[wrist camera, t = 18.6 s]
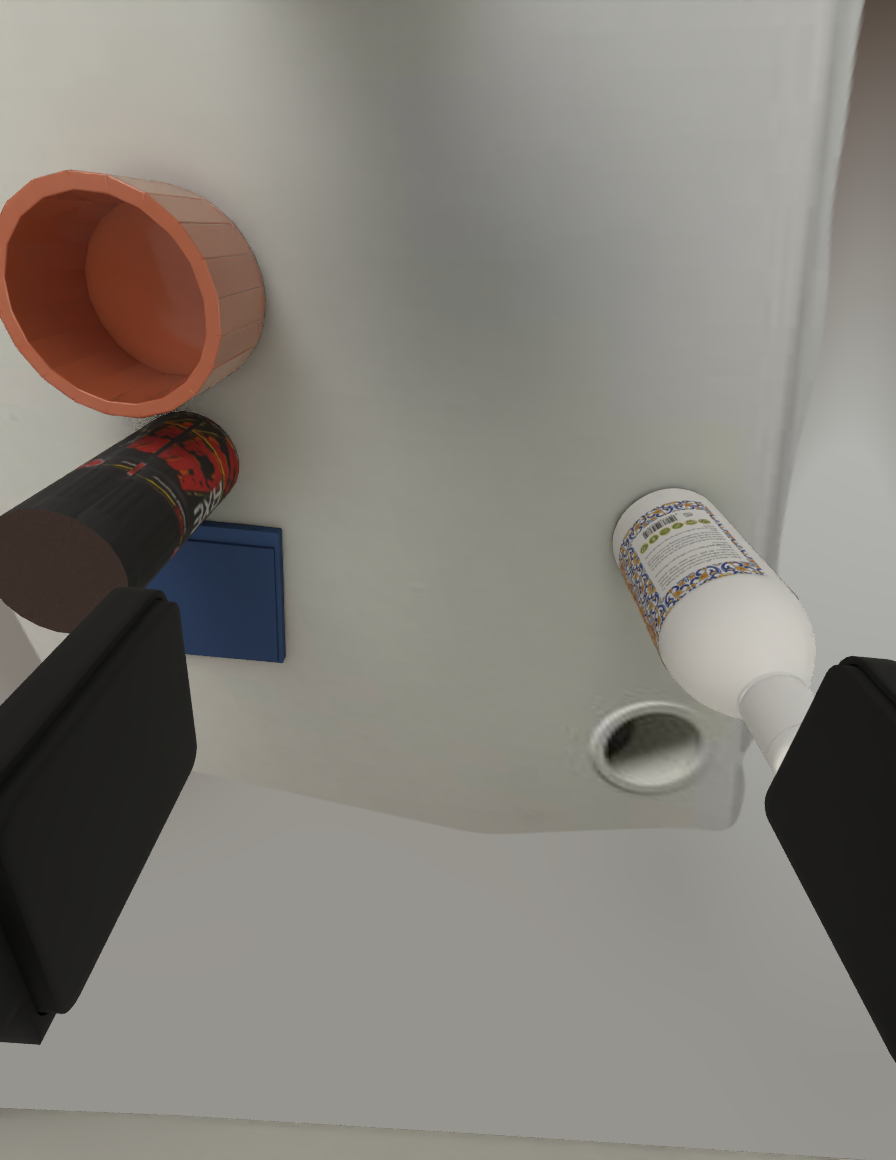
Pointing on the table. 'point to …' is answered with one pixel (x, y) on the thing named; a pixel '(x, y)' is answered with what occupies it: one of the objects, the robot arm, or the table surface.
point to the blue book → (229, 591)
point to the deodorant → (113, 519)
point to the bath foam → (718, 615)
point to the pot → (126, 290)
